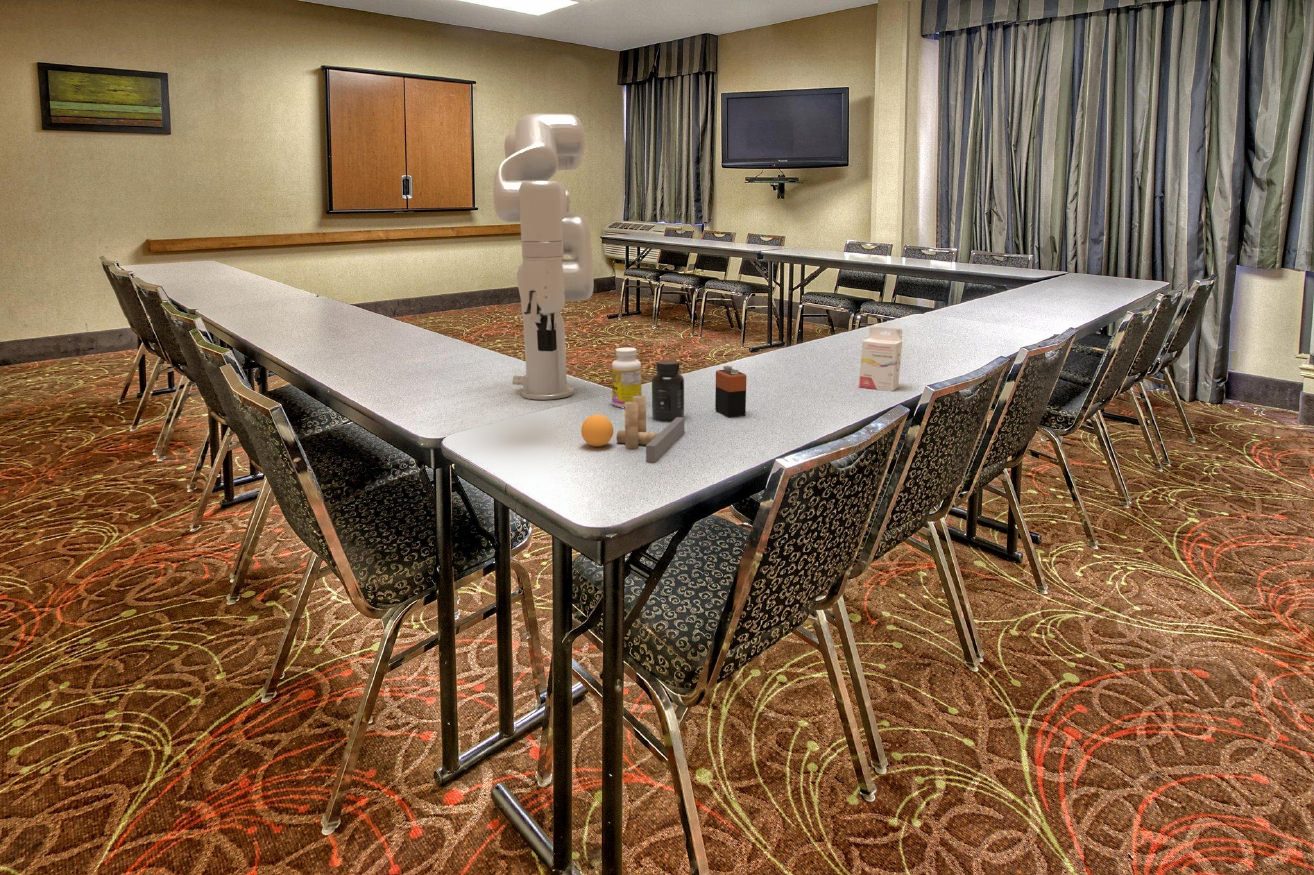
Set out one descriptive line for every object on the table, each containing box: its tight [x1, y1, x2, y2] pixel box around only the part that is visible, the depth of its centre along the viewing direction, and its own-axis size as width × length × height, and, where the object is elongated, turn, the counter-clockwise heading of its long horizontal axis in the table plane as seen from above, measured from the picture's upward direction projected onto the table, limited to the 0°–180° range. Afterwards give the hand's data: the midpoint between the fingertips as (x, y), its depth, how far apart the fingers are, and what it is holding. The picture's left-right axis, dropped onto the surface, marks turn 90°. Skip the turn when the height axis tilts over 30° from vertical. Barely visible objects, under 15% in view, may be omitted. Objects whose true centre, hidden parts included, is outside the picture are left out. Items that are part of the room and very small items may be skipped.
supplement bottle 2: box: [651, 359, 685, 422], centre depth 165 cm, size 7×7×12 cm
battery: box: [714, 365, 747, 418], centre depth 168 cm, size 4×7×10 cm, turn 21°
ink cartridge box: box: [858, 325, 903, 392], centre depth 190 cm, size 9×5×15 cm, turn 58°
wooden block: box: [615, 430, 660, 446], centre depth 148 cm, size 2×2×8 cm
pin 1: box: [624, 402, 639, 450], centre depth 145 cm, size 2×2×8 cm
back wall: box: [645, 417, 685, 463], centre depth 146 cm, size 2×20×3 cm, turn 163°
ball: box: [580, 414, 614, 447], centre depth 146 cm, size 6×6×6 cm
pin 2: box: [633, 395, 647, 432], centre depth 150 cm, size 2×2×8 cm
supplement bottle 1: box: [611, 347, 643, 408], centre depth 176 cm, size 7×7×13 cm
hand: (547, 350), depth 149 cm, fingers closed
